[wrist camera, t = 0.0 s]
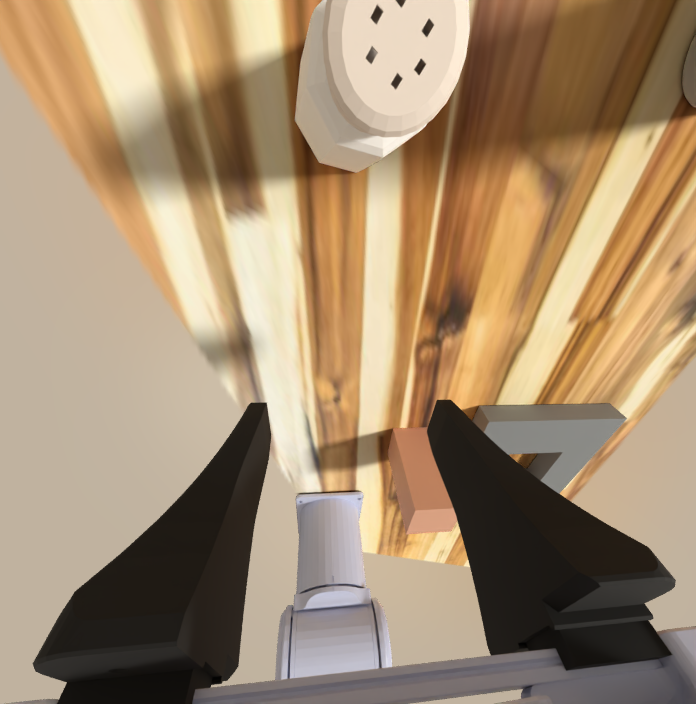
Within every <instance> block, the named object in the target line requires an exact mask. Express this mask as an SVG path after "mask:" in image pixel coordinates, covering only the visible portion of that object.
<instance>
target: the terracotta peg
mask: <svg viewBox="0 0 696 704" xmlns="http://www.w3.org/2000/svg"><path fill="white" fill-rule="evenodd" d="M427 429H428V427H423V428H393V431H392V436H391V440H390V444H389V449H388V457H389V462H390V466H391V470H392V475H393V479H394V484H395V488H396V492H397V497H398V501H399V505H400V510H401V514H402V518H403V523H404V527H405V531H406V534H417V533H432V532H447V531H452V529H453V527H454V526H455V524H456V522H457V517H456V514H455V511H454V508H453V505H452V503H451V500H450V498H449V495H448V493H447V490H446V488H445V485H444V483H443V480H442V477H441V475H440V472H439V470H438V467H437V465H436V462H435V459H434V457H433V454H432V451H431V447H430V443H429V439H428V435H427Z"/></svg>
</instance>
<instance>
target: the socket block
mask: <svg viewBox="0 0 696 704" xmlns="http://www.w3.org/2000/svg"><path fill="white" fill-rule="evenodd" d="M626 419H627V418H626V417H625V416H623V415H622V414H621V413H620V412H619V411H618V410H617V409H615V408H614V407H613V406H612V405H611V404H555V405H499V406H479V407H478V409H477V412H476V414H475V416H474V418H473V420H472V421H473V422H474V423H475V424H476V425H477V426H478V427H479V428H480V429H481V430H482V431H483V432H484V433H485V434H486V435H487V436H488V437H489V438H490V439H491V440H492V441H493V442H494V443H495V444H497V445H498V446H499V447H500V448H501V449H502V450H503V451H504V452H506V453H507V454H508V455H509V454H528V453H538V455H537V456H536V457H535V459H534V460H533V462H532V463H531V464H530V466H529V467H528V469H526V470H527V471H529V472H530V473H531V474H532V475H534V476H535V477H536V478H538V479H539V480H540V481H542V482H543V483H544V484H546V485H547V486H549V487H550V488H551V489H553V490H554V491H556V492H557V493H560V492H561V491H562V490H563V489H564V488H565V487H566V486H567V484H568V483H569V482H570V481H571V480H572V479H573V478H574V477H575V476H576V474H577V473H578V472H579V471H580V470H581V469H582V468H583V467H584V466H585V464H586V463H587V462H588V461H589V460H590V459H591V458H592V457H593V456H594V455H595V453H596V452H597V451H598V450H599V449H600V448H601V447H602V446H603V445H604V443H605V442H606V441H607V440H608V439H609V438H610V437H611V436H612V435H613V433H614V432H615V431H616V430H617V429H618V428H619V427H620V426H621V425H622V423H623V422H624V421H625V420H626Z"/></svg>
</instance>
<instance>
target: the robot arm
mask: <svg viewBox="0 0 696 704" xmlns="http://www.w3.org/2000/svg"><path fill="white" fill-rule="evenodd" d="M427 435H428V439H429V443H430V447H431V451H432V454H433V457H434V459H435V462H436V465H437V467H438V470H439V472H440V475H441V477H442V480H443V483H444V485H445V488H446V490H447V493H448V495H449V498H450V500H451V503H452V505H453V508H454V511H455V514H456V517H457V521H458V524H459V527H460V531H461V534H462V538H463V541H464V545H465V549H466V553H467V556H468V560H469V564H470V568H471V572H472V576H473V580H474V584H475V589H476V593H477V597H478V602H479V607H480V611H481V616H482V621H483V626H484V631H485V636H486V641H487V646H488V649H489V651H490V654H491V656H484V657H476V658H466V659H457V660H448V661H440V662H431V663H422V664H414V665H405V666H396V667H392V657H391V646H390V638H389V631H388V625H387V620H386V615H385V612H384V609H383V606H382V605H381V604H380V603H379V602H378V600H377V599H376V598H371V595H370V589H369V588H366V581H365V573H364V563H363V554H362V544H361V535H360V526H359V518H360V513H361V507H362V501H363V493H362V492H343V493H323V494H302V495H297V496H296V507H297V519H298V532H299V551H298V572H297V591H296V594H295V595H294V610H293V605H288V606H287V607H286V610H285V611H284V612H283V613H282V615H281V619H280V625H279V634H278V644H277V658H276V677H275V680H274V681H265V682H256V683H248V684H239V685H230V686H221V687H213V688H211V685H214V684H221V683H222V681H227V680H228V679H229V678H230V676H231V675H232V674H233V673H234V672H235V670H236V669H237V667H238V664H239V653H240V641H241V632H242V622H243V612H244V604H245V595H246V586H247V577H248V569H249V561H250V553H251V546H252V537H253V531H254V524H255V519H256V514H257V509H258V505H259V500H260V496H261V492H262V487H263V483H264V478H265V474H266V469H267V464H268V460H269V452H270V442H271V431H270V423H269V416H268V409H267V403H250V404H249V405H248V407H247V409H246V411H245V412H244V414H243V416H242V417H241V419H240V421H239V422H238V424H237V425H236V427H235V428H234V430H233V431H232V433H231V434H230V436H229V437H228V438H227V440H226V442H225V443H224V444H223V446H222V447H221V448H220V450H219V451H218V452H217V454H216V455H215V456H214V458H213V459H212V460H211V461H210V463H209V464H208V465H207V466H206V468H205V469H204V470H203V471H202V473H201V474H200V475H199V476H198V477H197V479H196V480H195V481H194V482H193V483H192V484H191V485H190V487H189V488H188V489H187V490H186V491H185V492H184V493H183V494H182V496H180V497H179V498H178V499H177V501H176V502H175V503H174V504H173V505H172V506H171V507H170V508H169V509H168V510H167V511H166V512H165V513H164V514H163V515H162V516H161V517H160V518H159V519H158V520H157V521H156V522H155V523H154V524H153V525H152V526H150V527H149V528H148V529H147V530H146V531H145V532H144V533H143V534H142V535H141V536H140V537H139V538H137V539H136V540H135V541H134V542H133V543H132V544H131V545H130V546H129V547H128V548H126V550H124V551H123V552H122V553H121V554H120V555H118V556H117V557H116V558H115V559H114V560H113V561H111V562H110V563H109V564H108V565H106V566H105V567H104V568H103V569H102V570H100V571H99V572H98V573H97V574H96V575H94V576H93V577H92V578H91V579H90V580H89V581H87V582H86V583H85V584H84V585H82V586H81V587H80V588H79V589H78V590H76V591H75V592H74V594H73V596H72V597H71V599H70V600H69V602H68V603H67V605H66V606H65V608H64V609H63V611H62V613H61V614H60V616H59V617H58V619H57V621H56V623H55V624H54V626H53V628H52V630H51V632H50V633H49V635H48V637H47V639H46V641H45V643H44V644H43V646H42V648H41V650H40V651H39V654H38V655H37V657H36V659H35V661H34V662H33V666H34V669H35V671H36V672H38V673H40V674H42V675H46V676H49V677H52V678H55V679H58V680H61V681H64V682H67V684H66V686H65V688H64V690H63V693H62V694H61V696H60V699H59V700H58V699H43V700H32V701H24V702H15V703H6V704H409V703H416V702H425V701H432V700H440V699H447V698H456V697H464V696H471V695H479V694H487V693H495V692H502V691H510V690H517V689H523V691H522V693H521V699H518V700H512V701H507V702H502V703H496V704H696V626H693V627H684V628H675V629H667V630H662V631H658V632H656V631H655V629H654V628H653V626H652V625H651V624H650V622H649V621H648V620H651V619H653V615H652V614H651V612H650V611H649V609H648V608H647V607H646V605H645V604H644V603H646V602H648V601H650V600H652V599H655V598H656V597H659V596H661V595H663V594H665V593H666V592H668V591H670V590H672V589H673V588H674V587H675V581H676V580H675V579H674V578H673V576H672V575H671V574H670V573H669V572H668V570H667V569H666V568H665V567H664V565H663V564H662V563H661V562H660V561H659V560H658V558H657V557H656V556H655V555H654V553H653V552H652V551H651V550H650V549H649V548H648V547H647V546H645V545H643V544H642V543H640V542H638V541H636V540H634V539H632V538H631V537H629V536H627V535H625V534H624V533H622V532H620V531H618V530H616V529H615V528H613V527H611V526H609V525H607V524H606V523H604V522H602V521H601V520H599V519H598V518H596V517H594V516H593V515H591V514H589V513H588V512H586V511H584V510H583V509H581V508H580V507H578V506H577V505H575V504H574V503H572V502H570V501H569V500H567V499H566V498H564V497H563V496H562V495H560V494H559V493H557V492H556V491H554V490H553V489H551V488H550V487H549V486H547V485H546V484H544V483H543V482H542V481H540V480H539V479H538V478H536V477H535V476H534V475H532V474H531V473H530V472H529V471H527V470H526V469H525V468H523V467H522V466H521V465H520V464H518V463H517V462H516V461H515V460H514V459H512V458H511V457H510V456H509V455H508V454H507V453H506V452H504V451H503V450H502V449H501V448H500V447H499V446H498V445H497V444H495V443H494V442H493V441H492V440H491V439H490V438H489V437H488V436H487V435H486V434H485V433H484V432H483V431H482V430H481V429H480V428H479V427H478V426H477V425H476V424H475V423H474V422H473V421H472V420H471V419H469V418H468V417H467V415H466V414H465V413H464V412H463V411H462V410H461V409H460V408H459V407H458V406H457V405H456V404H455V403H453V402H452V401H451V400H437V402H436V405H435V408H434V411H433V414H432V417H431V420H430V423H429V426H428V429H427Z"/></svg>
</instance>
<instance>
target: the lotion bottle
mask: <svg viewBox="0 0 696 704" xmlns="http://www.w3.org/2000/svg"><path fill="white" fill-rule="evenodd" d="M682 81H683V91H684V94H685V97H686V99H687V100H688V102H689V103H690V104H691V105H692V106H693V107H695V108H696V34H695V36H694V38H693V41H692V43H691V45H690V48H689V51H688V53H687V57H686V60H685V64H684V70H683V80H682Z"/></svg>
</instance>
